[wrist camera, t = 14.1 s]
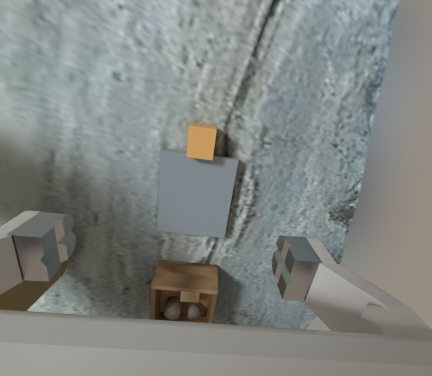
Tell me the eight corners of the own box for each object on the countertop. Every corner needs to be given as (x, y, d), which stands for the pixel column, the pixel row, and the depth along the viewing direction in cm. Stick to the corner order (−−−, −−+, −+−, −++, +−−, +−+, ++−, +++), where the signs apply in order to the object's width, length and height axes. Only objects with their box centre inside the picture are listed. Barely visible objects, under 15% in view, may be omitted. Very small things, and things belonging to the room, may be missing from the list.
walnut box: (156, 311, 39) (149, 340, 35) (159, 259, 35) (151, 285, 31) (209, 315, 40) (208, 344, 35) (217, 265, 36) (218, 291, 31)
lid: (159, 224, 33) (154, 237, 30) (164, 117, 27) (158, 121, 24) (223, 231, 34) (224, 245, 31) (242, 128, 28) (245, 133, 25)
